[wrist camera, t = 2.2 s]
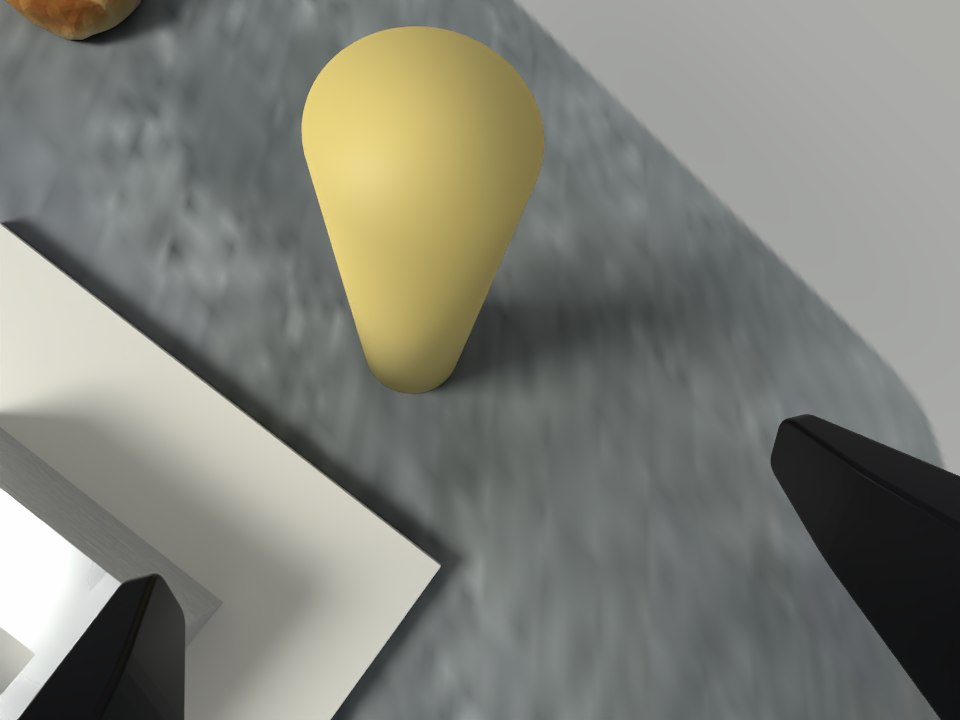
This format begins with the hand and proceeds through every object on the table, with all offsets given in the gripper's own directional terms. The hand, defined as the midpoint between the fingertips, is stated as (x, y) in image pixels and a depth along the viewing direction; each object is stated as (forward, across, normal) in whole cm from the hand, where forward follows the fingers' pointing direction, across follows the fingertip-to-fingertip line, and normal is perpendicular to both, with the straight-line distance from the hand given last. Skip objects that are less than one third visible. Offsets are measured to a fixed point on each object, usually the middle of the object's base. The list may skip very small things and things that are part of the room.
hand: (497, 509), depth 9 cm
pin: (+12, 0, +5) cm, 13 cm away
